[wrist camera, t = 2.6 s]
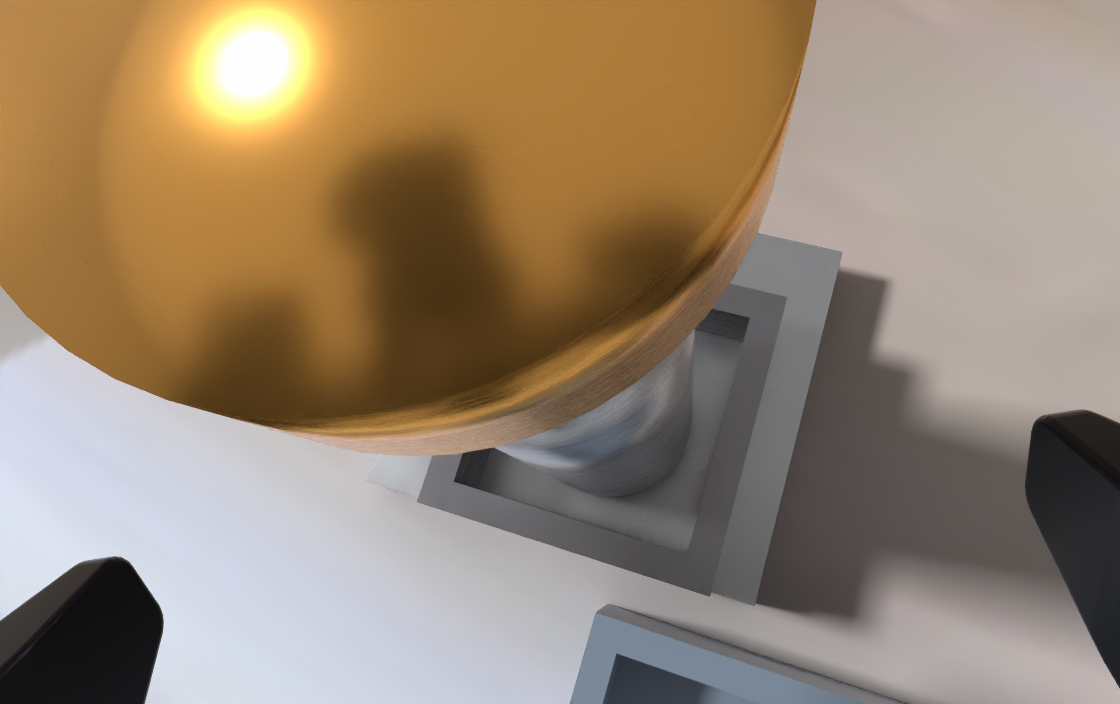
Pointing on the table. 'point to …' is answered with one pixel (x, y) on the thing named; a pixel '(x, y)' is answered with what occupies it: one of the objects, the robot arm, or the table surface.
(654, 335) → the stop pin
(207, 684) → the table surface
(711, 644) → the tray
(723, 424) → the square socket base
